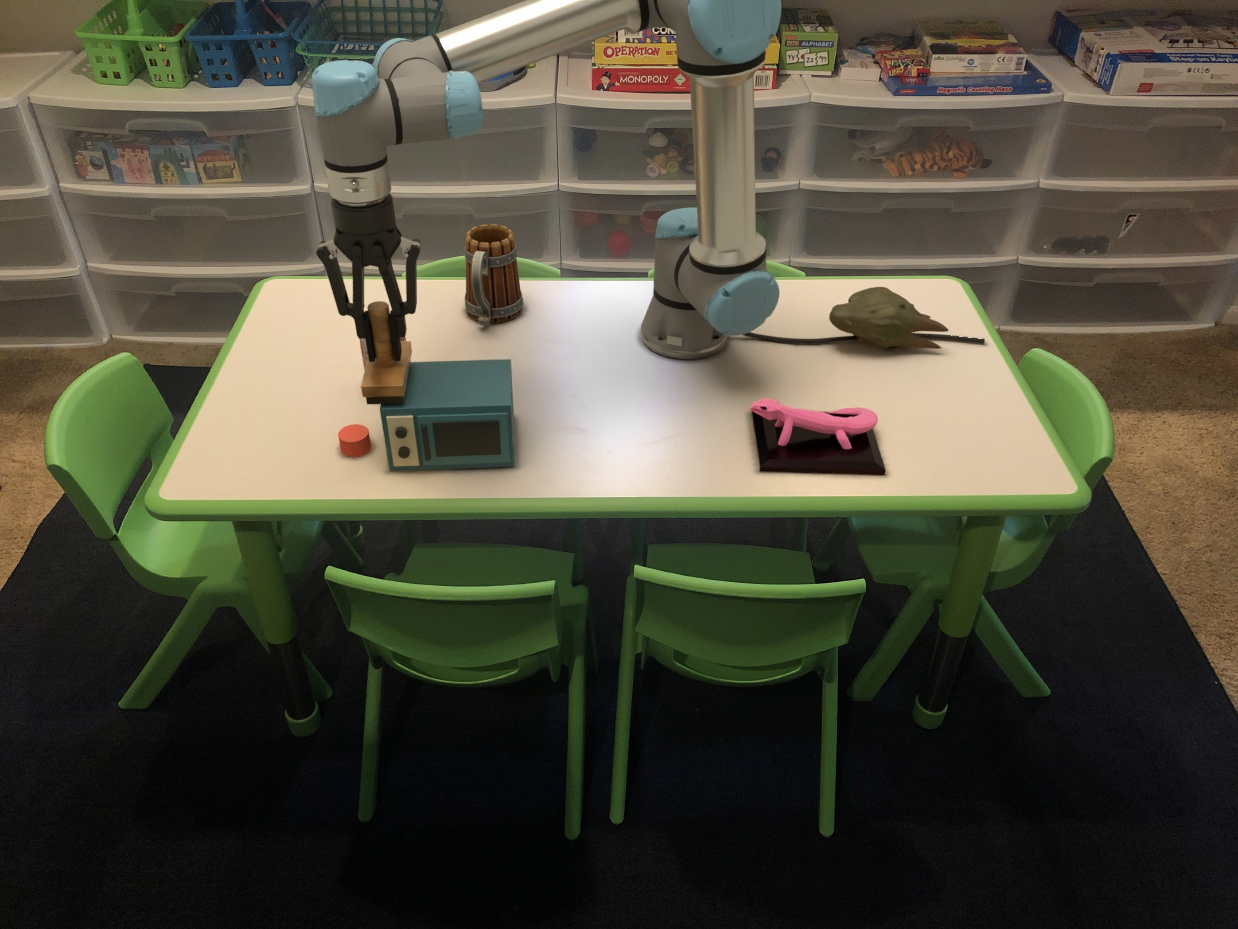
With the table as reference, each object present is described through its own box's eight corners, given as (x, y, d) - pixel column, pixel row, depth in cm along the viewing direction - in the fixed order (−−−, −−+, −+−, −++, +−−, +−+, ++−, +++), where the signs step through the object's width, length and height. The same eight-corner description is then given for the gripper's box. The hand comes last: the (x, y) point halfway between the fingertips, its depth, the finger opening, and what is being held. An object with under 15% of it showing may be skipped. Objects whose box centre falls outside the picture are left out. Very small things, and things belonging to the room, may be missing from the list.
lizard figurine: (741, 413, 153) (746, 374, 149) (867, 417, 153) (876, 378, 149) (749, 471, 142) (754, 430, 137) (885, 475, 142) (895, 434, 137)
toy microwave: (514, 419, 151) (510, 358, 144) (514, 472, 141) (510, 409, 134) (396, 422, 149) (387, 362, 143) (388, 476, 139) (378, 414, 132)
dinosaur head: (880, 271, 176) (958, 313, 165) (864, 318, 181) (938, 363, 170) (814, 277, 166) (892, 322, 155) (798, 326, 171) (872, 374, 160)
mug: (473, 293, 182) (467, 218, 173) (528, 298, 181) (525, 223, 172) (451, 336, 170) (443, 257, 161) (509, 341, 169) (505, 263, 160)
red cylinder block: (340, 424, 144) (343, 439, 146) (335, 442, 141) (338, 457, 142) (370, 423, 144) (373, 439, 146) (366, 441, 141) (368, 456, 143)
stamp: (413, 360, 143) (403, 285, 135) (405, 405, 133) (394, 327, 126) (374, 361, 142) (362, 285, 134) (364, 406, 133) (350, 328, 125)
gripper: (290, 208, 117) (323, 372, 132) (423, 206, 118) (441, 369, 133) (301, 184, 123) (331, 343, 137) (427, 182, 124) (444, 340, 139)
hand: (385, 356), depth 135 cm, fingers closed on stamp, 3 cm apart
